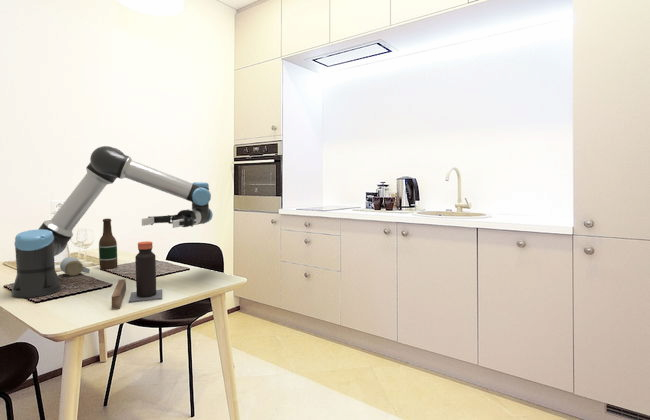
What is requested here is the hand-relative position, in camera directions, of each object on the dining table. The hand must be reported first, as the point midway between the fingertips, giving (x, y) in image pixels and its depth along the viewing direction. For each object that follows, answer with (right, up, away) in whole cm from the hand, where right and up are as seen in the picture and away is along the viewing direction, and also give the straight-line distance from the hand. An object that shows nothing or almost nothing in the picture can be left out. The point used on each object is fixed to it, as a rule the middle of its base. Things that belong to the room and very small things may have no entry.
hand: (157, 223), depth 147 cm
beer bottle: (-41, -23, +38) cm, 60 cm away
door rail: (-11, -28, -8) cm, 31 cm away
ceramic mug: (-49, -24, +26) cm, 60 cm away
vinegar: (-2, -27, -4) cm, 28 cm away
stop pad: (-2, -27, -4) cm, 28 cm away
